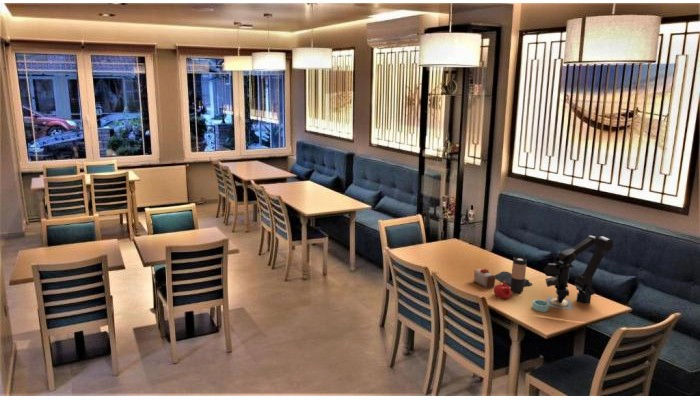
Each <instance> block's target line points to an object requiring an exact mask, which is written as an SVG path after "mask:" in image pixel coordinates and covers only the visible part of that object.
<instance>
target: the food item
mask: <svg viewBox="0 0 700 400" xmlns="http://www.w3.org/2000/svg"><path fill="white" fill-rule="evenodd" d="M495 275H496V274H492V273H491V272H490V271H489V269H487V268H484V269H482V268H476V269H474V274H473V283H475V284H478V285H480V286H482V287H483V288H486V289H487V290H489V289H494V287H495V286H496V285H495V284H496V279H495Z"/></svg>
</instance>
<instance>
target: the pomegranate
mask: <svg viewBox="0 0 700 400" xmlns="http://www.w3.org/2000/svg"><path fill="white" fill-rule="evenodd" d="M498 282H499V283H497V284H496V285H495V286H494V288H493V293H494V295H495V297H497V298H499V299H503V300H506V299H509V298H510V297H511V296H512V294H513V292H512V291H511V287H510V286H509V285H506V283H505V281H503V283H502V282H500V281H498Z"/></svg>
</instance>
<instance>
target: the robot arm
mask: <svg viewBox="0 0 700 400" xmlns="http://www.w3.org/2000/svg"><path fill="white" fill-rule="evenodd" d="M593 246H594V250H595V251H594V252H593V255H592V256H591V258H590V261H588V264H587V266H586V268H585V269H584V272H583V273H581V274H578V275H576V278H575V280H574V286H575V289H576V290H577V291H578V292H577V293H576V299H575V301H576V302H579V303H581V304H591V300H592V296H593V295H595V293H596V292H595V290H594V289H593V282H594V280H593V277H594V276H595V274H596V271H597V269H598V268H599V266H600V264H601V262H602V260H603V258H604V256H605V255H606V254H608V253H609V252H610V251H611V250H612V248H613V247H614V241H613V240H612V239H610V238H608V237H606V236H604V235H603V236H594V235H588V236H587V237H586V238H585V239H584V240H582V241H580V242H578V244H576V245H574V246H573V247H571V248H568V249H565V250H562V251H559V253H558V254H557V256H556V257H555V258H554V260H553V261H552V263H550V262H549V263H547V265H545V266H544V268H543V271H544V275H545V276H546V277H548V278H545V284H546V286H547V287H552V286H554V288H555V293H556V295H557V296H558V297H559V303H561V302H562V301H563V300H564V299H565V298H566V297H569V296H570V292H569V291H570V289H568V287H569V285H568V282H569V280H570V278H569V277H570V268H574V266H573V265H572V263H574V261H576V259H577V257H578V256H579V255H581V254H582V253H584V252H585V251H587V250H588V249H590V248H591V247H593Z"/></svg>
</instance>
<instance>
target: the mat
mask: <svg viewBox="0 0 700 400" xmlns="http://www.w3.org/2000/svg"><path fill="white" fill-rule="evenodd" d="M553 298H554V297H551V296H550V297H549V296H546V297H545V299H546V302H548V303H549V308H553V309H554V308H555V309H562V310H570V311H574V308H573V303H572V301H571V299H565V298H564V300H566V301H567V302H568V306H566V307H560V306H556V305H553V304H552V303H551V299H553Z"/></svg>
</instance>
